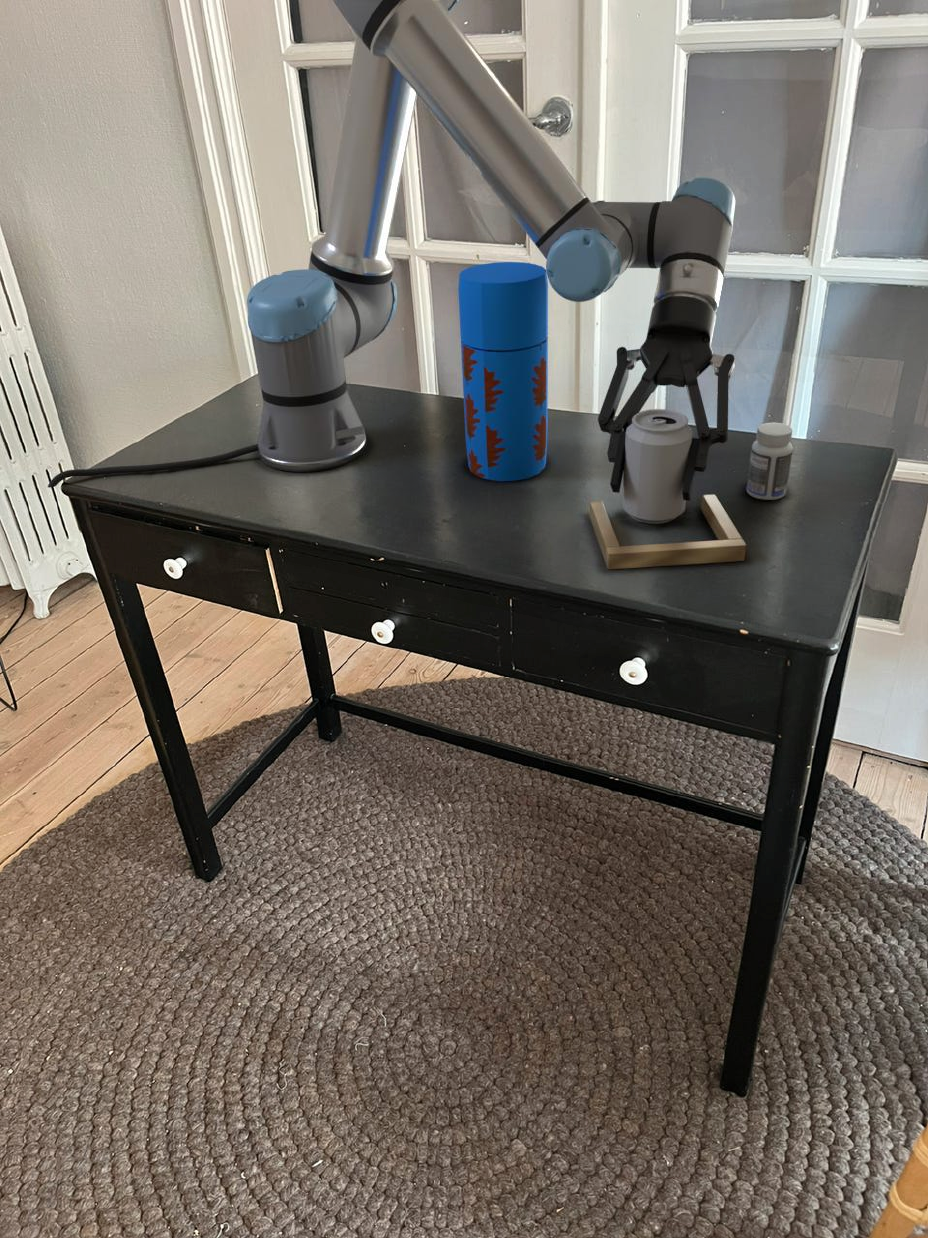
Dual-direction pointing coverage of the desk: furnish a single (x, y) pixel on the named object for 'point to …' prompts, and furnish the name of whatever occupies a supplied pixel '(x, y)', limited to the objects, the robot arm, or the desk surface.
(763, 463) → the pill bottle
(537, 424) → the thermos
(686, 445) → the can
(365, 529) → the desk surface
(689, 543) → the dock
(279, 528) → the desk surface
